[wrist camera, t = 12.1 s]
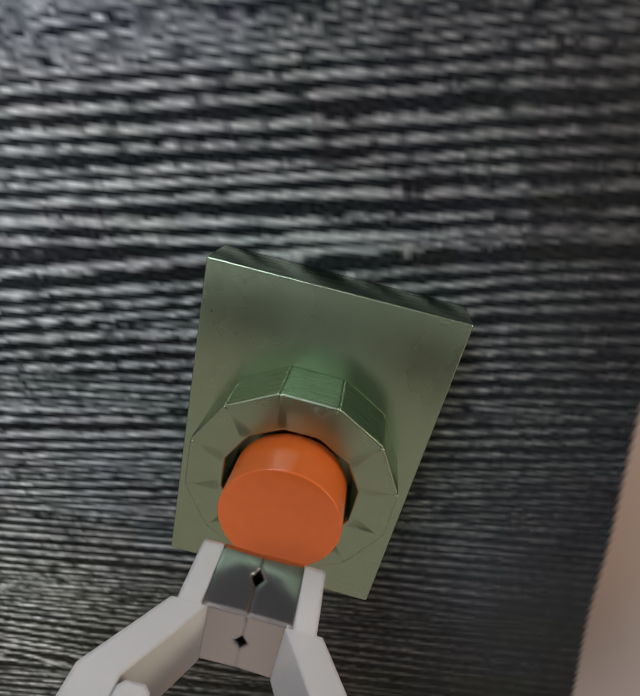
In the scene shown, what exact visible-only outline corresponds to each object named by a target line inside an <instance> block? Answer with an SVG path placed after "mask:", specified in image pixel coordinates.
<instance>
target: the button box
mask: <svg viewBox="0 0 640 696" xmlns="http://www.w3.org/2000/svg"><path fill="white" fill-rule="evenodd" d="M472 329H473V323H472V321H471V319H470V316H469V314H468V312H467V310H466V307H464V306H461V305H457V304H453V303H449V302H445V301H441V300H437V299H433V298H430V297H426V296H422V295H418V294H414V293H410V292H406V291H402V290H398V289H395V288H391V287H387V286H383V285H379V284H375V283H371V282H367V281H363V280H359V279H356V278H352V277H348V276H344V275H340V274H336V273H332V272H328V271H324V270H321V269H317V268H313V267H309V266H305V265H301V264H297V263H293V262H289V261H285V260H282V259H278V258H274V257H270V256H266V255H262V254H258V253H254V252H250V251H246V250H243V249H239V248H235V247H231V246H227V245H224V246H223V247H221V248H220V249H218V250H217V251H215V252H214V253H212V254H211V255H209V256H208V257H207V261H206V269H205V277H204V285H203V293H202V302H201V310H200V318H199V326H198V334H197V342H196V350H195V358H194V367H193V375H192V383H191V391H190V399H189V407H188V415H187V423H186V431H185V440H184V448H183V456H182V464H181V472H180V480H179V488H178V496H177V505H176V513H175V521H174V529H173V537H172V547H175V548H179V549H183V550H186V551H190V552H193V553H198V551H199V549H200V547H201V545H202V543H203V541H204V540H205V539H206V538H208V539H212V540H215V541H219V542H222V543H225V544H229V545H232V546H234V545H233V544H232V543H231V542H230V541H229V539H228V538H227V537H226V535H225V534H224V532H223V530H222V528H221V526H220V523H219V519H218V511H217V508H218V501H219V497H220V495H221V493H222V491H223V489H224V486H225V484H226V482H227V480H228V478H229V476H230V474H231V472H232V470H233V467H234V465H235V463H236V461H237V459H238V457H239V455H240V454H241V452H242V451H243V450H244V449H245V448H246V446H248V445H249V444H250V443H252V442H253V441H255V440H257V439H259V438H261V437H264V436H267V435H271V434H278V433H289V434H296V435H301V436H304V437H307V438H310V439H312V440H314V441H317V442H318V443H320V444H322V445H323V446H324V447H326V448H327V449H328V450H330V451H331V452H332V453H333V454H334V455H335V457H336V458H337V459H338V460H339V462H340V464H341V465H342V467H343V469H344V472H345V475H346V479H347V494H346V502H345V511H344V519H343V527H342V533H341V537H340V539H339V542H338V544H337V545H336V547H335V548H334V549H333V550H332V552H331V553H330V554H328V555H327V556H326V557H325V558H323V559H321V560H320V561H318V562H315V563H313V564H310V565H307V566H309V567H312V568H316V569H320V570H323V571H325V575H326V576H325V583H324V589H327V590H330V591H334V592H338V593H341V594H345V595H348V596H352V597H356V598H359V599H363V600H366V599H367V597H368V594H369V592H370V589H371V587H372V584H373V582H374V579H375V576H376V574H377V571H378V569H379V566H380V564H381V561H382V559H383V556H384V553H385V551H386V548H387V546H388V543H389V541H390V538H391V536H392V533H393V530H394V528H395V525H396V523H397V520H398V518H399V515H400V513H401V510H402V507H403V505H404V502H405V500H406V497H407V495H408V492H409V490H410V487H411V485H412V482H413V479H414V477H415V474H416V472H417V469H418V467H419V464H420V462H421V459H422V456H423V454H424V451H425V449H426V446H427V444H428V441H429V439H430V436H431V433H432V431H433V428H434V426H435V423H436V421H437V418H438V416H439V413H440V411H441V408H442V405H443V403H444V400H445V398H446V395H447V393H448V390H449V388H450V385H451V382H452V380H453V377H454V375H455V372H456V370H457V367H458V365H459V362H460V359H461V357H462V354H463V352H464V349H465V347H466V344H467V342H468V339H469V336H470V334H471V331H472Z"/></svg>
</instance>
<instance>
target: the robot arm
mask: <svg viewBox="0 0 640 696" xmlns="http://www.w3.org/2000/svg"><path fill="white" fill-rule="evenodd" d="M325 576H326V575H325V571H323V570H320V569H316V568H312V567H309V566H304V565H303V564H299V563H295V562H291V561H288V560H284V559H280V558H276V557H272V556H268V555H262V554H259V553H255V552H252V551H249V550H246V549H242V548H239V547H236V546H232V545H229V544H225V543H222V542H219V541H215V540H212V539H208V538H206V539H205V540H204V541H203V543H202V545H201V547H200V549H199V551H198V553H197V555H196V558H195V560H194V562H193V564H192V566H191V569H190V571H189V573H188V575H187V577H186V579H185V582H184V584H183V586H182V588H181V590H180V593H179V595H178V597H175V596H170V597H169V598H167V599H166V600H164V601H163V602H161V603H160V604H158V605H157V606H156V607H154V608H153V609H151V610H150V611H148V612H147V613H146V614H144V615H143V616H141V617H140V618H138V619H137V620H135V621H134V622H133V623H131V624H130V625H128V626H127V627H125V628H124V629H123V630H121V631H120V632H118V633H117V634H115V635H114V636H112V637H111V638H110V639H108V640H107V641H105V642H104V643H102V644H101V645H99V646H98V647H97V648H95V649H94V650H92V651H91V652H89V653H88V654H87V655H85V656H84V657H82V658H81V659H79V660H78V661H76V663H75V664H74V666H73V668H72V669H71V671H70V673H69V674H68V676H67V678H66V679H65V681H64V683H63V684H62V686H61V688H60V689H59V691H58V693H57V694H56V696H161V695H163V694H164V693H165V692H166V691H167V690H168V689H169V688H170V687H171V686H172V685H173V684H174V683H175V682H176V681H177V680H178V679H179V678H180V677H181V676H182V675H183V674H184V673H185V672H186V671H187V670H188V669H189V668H191V667H192V666H193V665H194V664H195V663H196V662H197V661H198V658H202V659H206V660H210V661H214V662H218V663H222V664H226V665H230V666H234V667H237V668H240V669H244V670H247V671H250V672H253V673H256V674H259V675H263V676H266V677H269V678H271V679H270V681H271V685H272V690H273V694H274V696H347V694H346V692H345V690H344V687H343V685H342V682H341V680H340V678H339V675H338V673H337V670H336V668H335V666H334V663H333V661H332V659H331V656H330V654H329V651H328V649H327V647H326V644H325V642H324V639H323V638H321V637H318V636H317V631H318V624H319V617H320V610H321V603H322V596H323V589H324V583H325Z"/></svg>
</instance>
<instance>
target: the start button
mask: <svg viewBox="0 0 640 696" xmlns="http://www.w3.org/2000/svg"><path fill="white" fill-rule="evenodd" d="M346 494H347V479H346V475H345V472H344V469H343V467H342V465H341V464H340V462H339V460H338V459H337V458H336V457H335V455H334V454H333V453H332V452H331V451H330V450H328V449H327V448H326V447H324V446H323V445H322V444H320V443H318V442H317V441H314V440H312V439H310V438H307V437H304V436H301V435H296V434H289V433H278V434H271V435H267V436H264V437H261V438H259V439H257V440H255V441H253V442H252V443H250V444H249V445H248V446H246V448H245V449H244V450H243V451H242V452H241V454H240V455H239V457H238V459H237V461H236V463H235V465H234V467H233V470H232V472H231V474H230V476H229V478H228V480H227V482H226V484H225V486H224V489H223V491H222V493H221V495H220V497H219V501H218V508H217V511H218V519H219V523H220V526H221V528H222V530H223V532H224V534H225V535H226V537H227V538H228V539H229V541H230V542H231V543H232V544H233V545H234V546H236V547H239V548H242V549H246V550H249V551H252V552H255V553H259V554H262V555H268V556H272V557H276V558H280V559H284V560H288V561H291V562H295V563H299V564H303V565H304V566H307V565H310V564H313V563H315V562H318V561H320V560H321V559H323V558H325V557H326V556H327V555H328V554H330V553H331V552H332V550H333V549H334V548H335V547H336V545H337V544H338V542H339V539H340V537H341V533H342V527H343V519H344V511H345V502H346Z"/></svg>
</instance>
